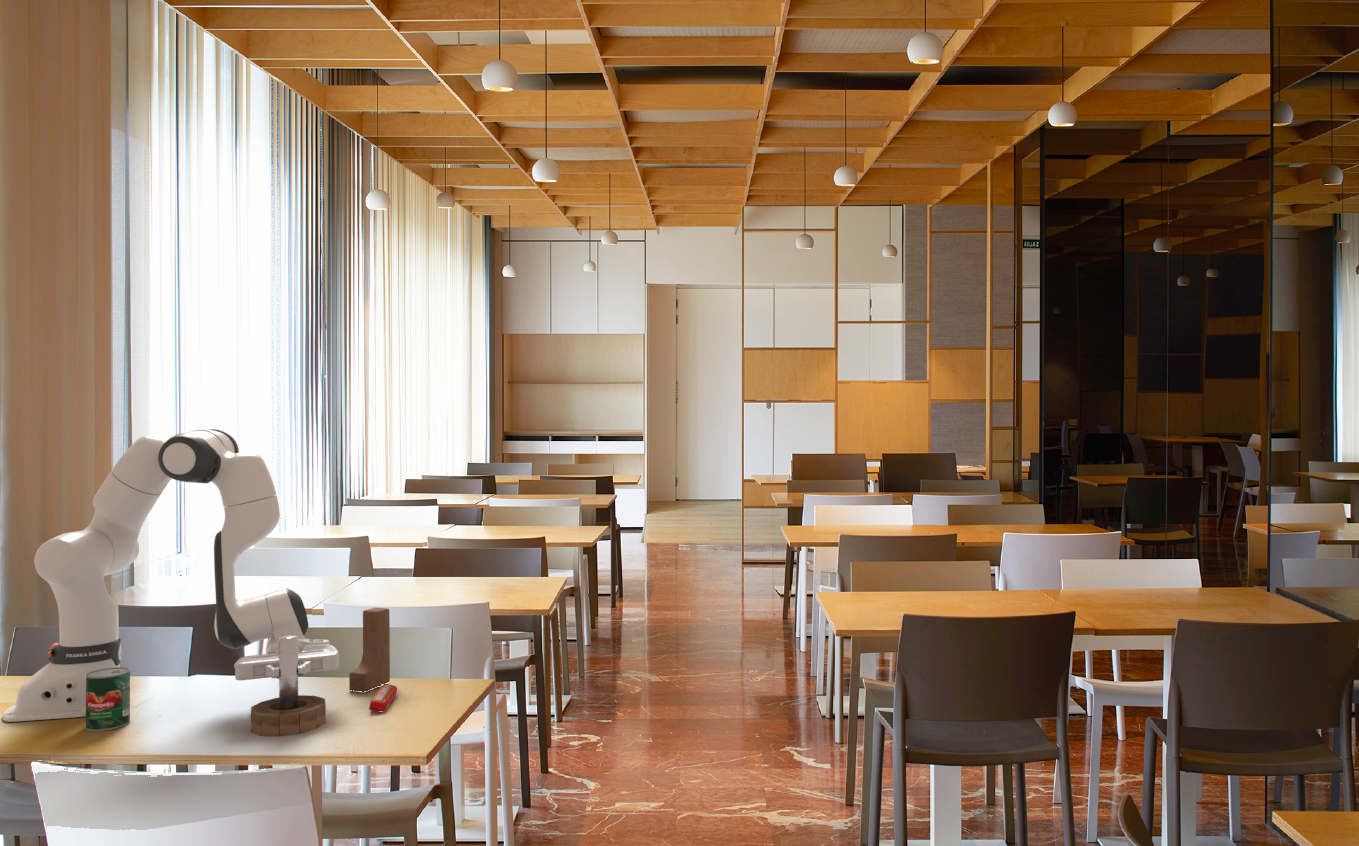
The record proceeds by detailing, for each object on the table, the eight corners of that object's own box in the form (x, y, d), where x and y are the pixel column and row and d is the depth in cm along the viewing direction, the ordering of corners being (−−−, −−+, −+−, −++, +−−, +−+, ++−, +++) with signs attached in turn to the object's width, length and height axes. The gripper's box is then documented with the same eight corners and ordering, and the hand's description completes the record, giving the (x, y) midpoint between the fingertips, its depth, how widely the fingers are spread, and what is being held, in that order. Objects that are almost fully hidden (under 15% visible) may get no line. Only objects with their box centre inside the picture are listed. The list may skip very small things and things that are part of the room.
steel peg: (279, 719, 187) (278, 640, 187) (279, 714, 190) (278, 636, 190) (298, 716, 188) (298, 638, 188) (298, 712, 192) (297, 635, 192)
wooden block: (363, 693, 212) (363, 615, 212) (348, 691, 213) (348, 613, 214) (390, 683, 220) (390, 608, 220) (375, 682, 222) (375, 607, 222)
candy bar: (385, 715, 196) (385, 700, 196) (367, 715, 196) (367, 701, 196) (399, 694, 212) (398, 681, 212) (382, 694, 212) (382, 681, 212)
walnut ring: (250, 739, 180) (250, 719, 180) (251, 719, 193) (251, 700, 193) (327, 729, 186) (327, 709, 186) (323, 710, 198) (323, 692, 198)
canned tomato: (86, 734, 184) (86, 679, 185) (84, 724, 191) (83, 671, 191) (132, 726, 189) (132, 672, 189) (128, 717, 195) (128, 665, 196)
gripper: (234, 648, 197) (232, 662, 184) (336, 638, 205) (340, 651, 193) (234, 678, 197) (232, 694, 184) (336, 667, 205) (341, 682, 193)
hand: (288, 672), depth 189 cm, fingers closed on steel peg, 4 cm apart
